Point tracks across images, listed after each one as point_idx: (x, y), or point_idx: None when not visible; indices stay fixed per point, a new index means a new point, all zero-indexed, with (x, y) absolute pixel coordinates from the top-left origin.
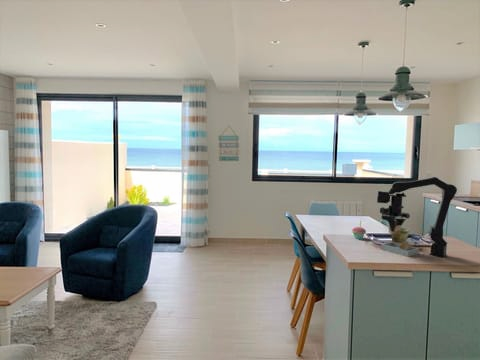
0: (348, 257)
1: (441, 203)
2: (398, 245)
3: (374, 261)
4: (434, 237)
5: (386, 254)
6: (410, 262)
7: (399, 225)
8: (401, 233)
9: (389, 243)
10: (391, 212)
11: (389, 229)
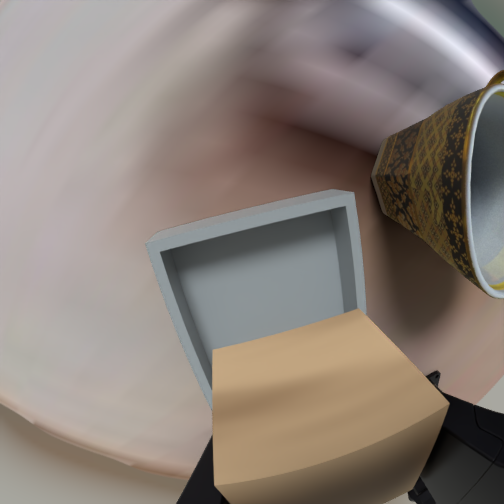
0: None
1: None
2: (346, 263)
3: (15, 402)
4: (410, 495)
5: (112, 359)
6: (168, 463)
7: (401, 489)
8: (463, 274)
9: (284, 218)
10: None
11: (217, 403)
